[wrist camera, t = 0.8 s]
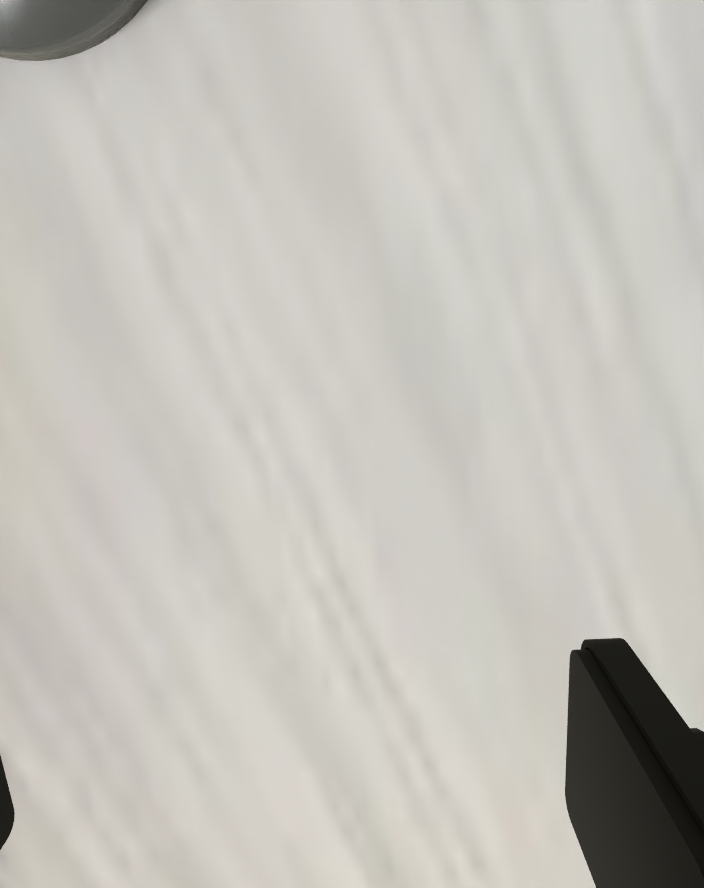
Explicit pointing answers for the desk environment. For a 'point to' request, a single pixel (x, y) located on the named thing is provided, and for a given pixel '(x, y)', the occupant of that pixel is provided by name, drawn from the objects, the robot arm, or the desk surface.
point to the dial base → (59, 26)
